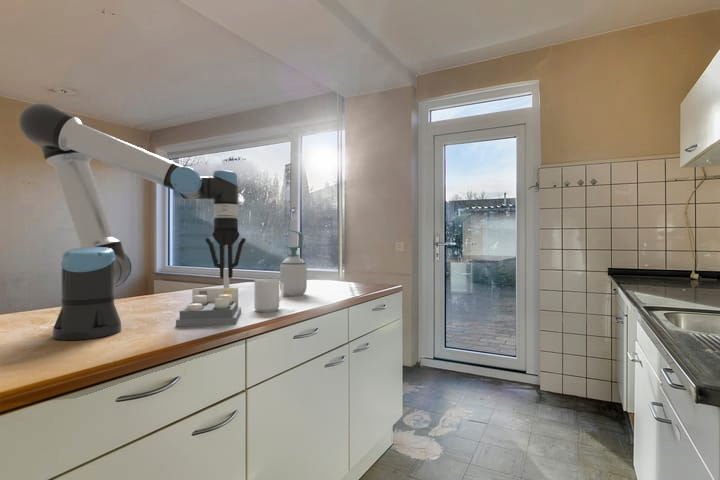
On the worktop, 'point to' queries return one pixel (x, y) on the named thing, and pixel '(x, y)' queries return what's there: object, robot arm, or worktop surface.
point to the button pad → (211, 309)
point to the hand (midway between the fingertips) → (226, 287)
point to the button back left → (200, 299)
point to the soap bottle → (294, 271)
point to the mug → (267, 295)
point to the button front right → (222, 303)
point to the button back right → (227, 297)
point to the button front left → (194, 306)
